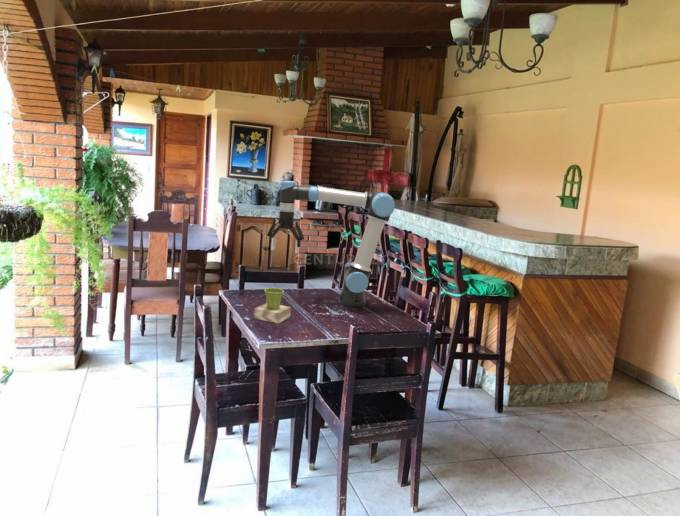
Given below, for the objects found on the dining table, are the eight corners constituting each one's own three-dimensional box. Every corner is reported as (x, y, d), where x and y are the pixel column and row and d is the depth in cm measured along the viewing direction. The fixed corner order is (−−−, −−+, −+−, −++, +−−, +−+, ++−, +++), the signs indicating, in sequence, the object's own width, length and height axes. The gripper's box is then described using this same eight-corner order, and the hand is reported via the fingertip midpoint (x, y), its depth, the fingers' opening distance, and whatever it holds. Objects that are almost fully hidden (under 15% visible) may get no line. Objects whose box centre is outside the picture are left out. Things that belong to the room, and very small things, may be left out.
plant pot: (279, 311, 251) (280, 293, 250) (260, 308, 253) (261, 291, 251) (285, 306, 260) (286, 289, 259) (267, 304, 262) (268, 287, 260)
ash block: (290, 316, 261) (290, 307, 260) (277, 323, 249) (278, 313, 248) (267, 312, 266) (267, 302, 265) (253, 318, 254) (254, 308, 253)
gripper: (261, 209, 272) (259, 249, 276) (306, 213, 265) (304, 255, 269) (268, 208, 279) (266, 247, 283) (312, 212, 272) (309, 253, 276)
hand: (284, 251), depth 276 cm, fingers open, 13 cm apart
